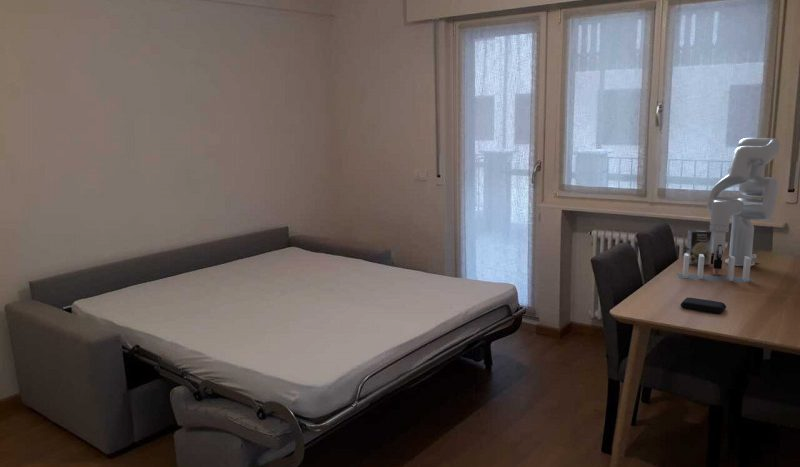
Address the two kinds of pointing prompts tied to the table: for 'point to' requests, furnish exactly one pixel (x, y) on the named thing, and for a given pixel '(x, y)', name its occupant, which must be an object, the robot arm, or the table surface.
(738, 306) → the table surface
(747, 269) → the domino
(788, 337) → the table surface
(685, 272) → the domino
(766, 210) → the robot arm
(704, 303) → the carrying case or bag
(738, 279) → the domino mat
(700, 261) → the domino
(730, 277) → the domino
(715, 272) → the red domino
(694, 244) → the coffee box
